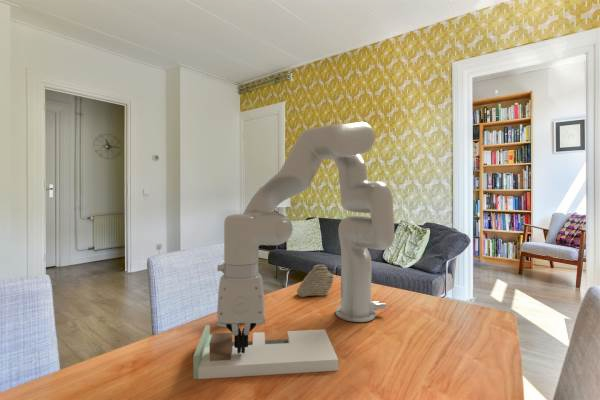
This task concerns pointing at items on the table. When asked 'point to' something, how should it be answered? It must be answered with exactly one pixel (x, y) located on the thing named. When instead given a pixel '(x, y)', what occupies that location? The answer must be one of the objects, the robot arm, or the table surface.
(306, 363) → the board
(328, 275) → the fossil tooth
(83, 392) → the table surface
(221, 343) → the walnut block
